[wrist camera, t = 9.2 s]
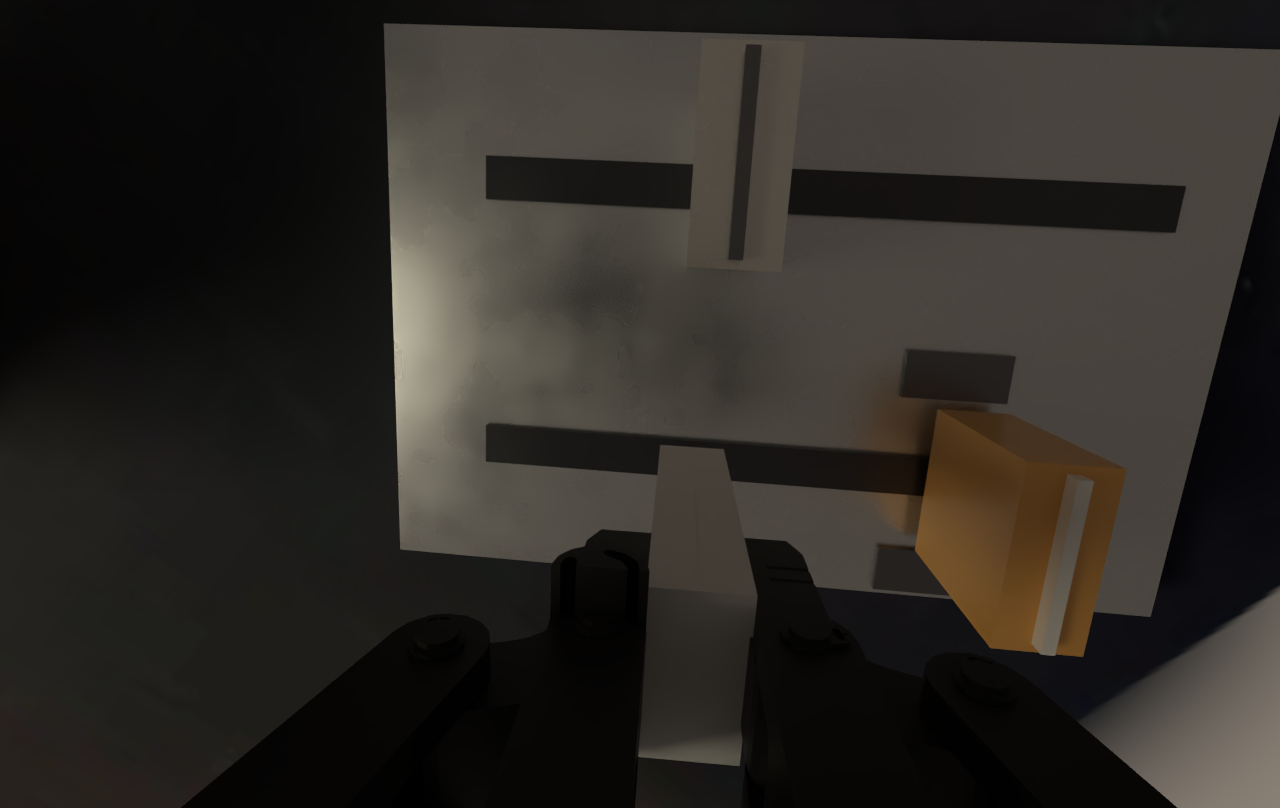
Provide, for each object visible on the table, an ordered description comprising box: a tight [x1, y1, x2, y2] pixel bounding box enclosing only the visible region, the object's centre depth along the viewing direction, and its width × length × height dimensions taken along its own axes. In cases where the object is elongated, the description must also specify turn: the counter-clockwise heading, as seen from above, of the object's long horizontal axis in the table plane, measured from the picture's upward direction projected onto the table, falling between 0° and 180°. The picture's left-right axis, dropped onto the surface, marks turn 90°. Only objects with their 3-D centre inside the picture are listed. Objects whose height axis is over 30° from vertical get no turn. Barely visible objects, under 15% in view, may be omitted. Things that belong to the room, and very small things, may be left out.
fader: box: [915, 409, 1127, 657], centre depth 16 cm, size 2×4×5 cm, turn 177°
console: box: [384, 24, 1280, 617], centre depth 17 cm, size 24×16×8 cm, turn 87°
